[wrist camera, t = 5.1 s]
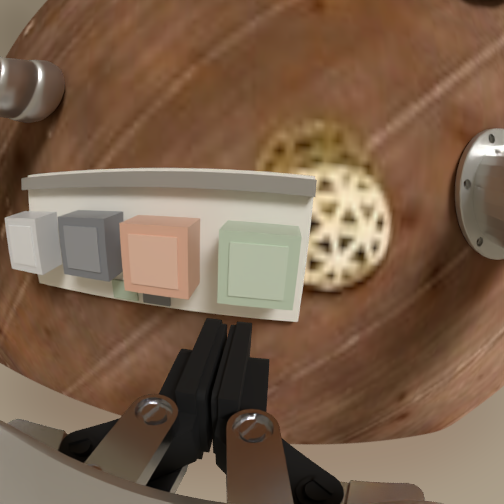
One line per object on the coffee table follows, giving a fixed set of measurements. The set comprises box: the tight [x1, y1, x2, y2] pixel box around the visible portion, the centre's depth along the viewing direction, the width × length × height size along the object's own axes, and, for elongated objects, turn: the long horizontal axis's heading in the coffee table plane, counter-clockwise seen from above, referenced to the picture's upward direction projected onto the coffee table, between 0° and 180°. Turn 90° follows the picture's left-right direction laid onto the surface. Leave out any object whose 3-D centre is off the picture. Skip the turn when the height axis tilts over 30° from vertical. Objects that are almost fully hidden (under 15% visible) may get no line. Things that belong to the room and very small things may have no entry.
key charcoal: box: [58, 210, 123, 282], centre depth 22 cm, size 5×5×3 cm
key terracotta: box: [119, 215, 200, 300], centre depth 20 cm, size 5×5×3 cm
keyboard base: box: [21, 168, 317, 322], centre depth 23 cm, size 28×12×2 cm, turn 86°
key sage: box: [217, 220, 302, 310], centre depth 20 cm, size 5×5×3 cm
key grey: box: [5, 211, 62, 275], centre depth 21 cm, size 5×5×3 cm
